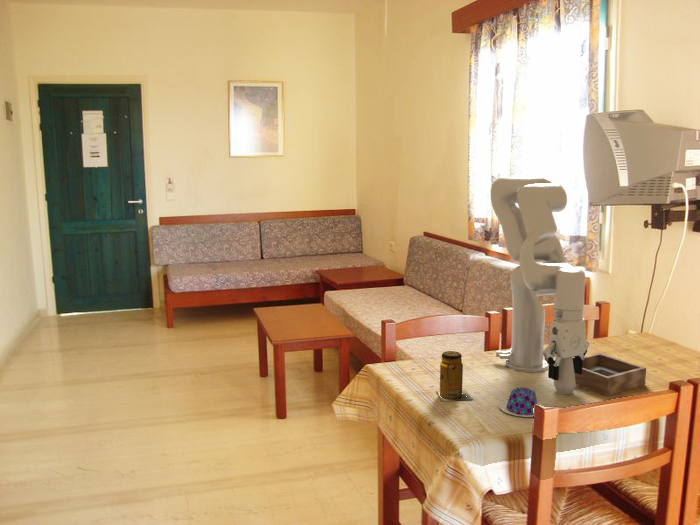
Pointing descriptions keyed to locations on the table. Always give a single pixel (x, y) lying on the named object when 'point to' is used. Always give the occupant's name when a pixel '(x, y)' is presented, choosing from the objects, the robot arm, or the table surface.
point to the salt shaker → (565, 377)
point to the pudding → (520, 402)
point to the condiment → (452, 377)
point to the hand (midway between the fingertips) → (565, 375)
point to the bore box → (609, 374)
